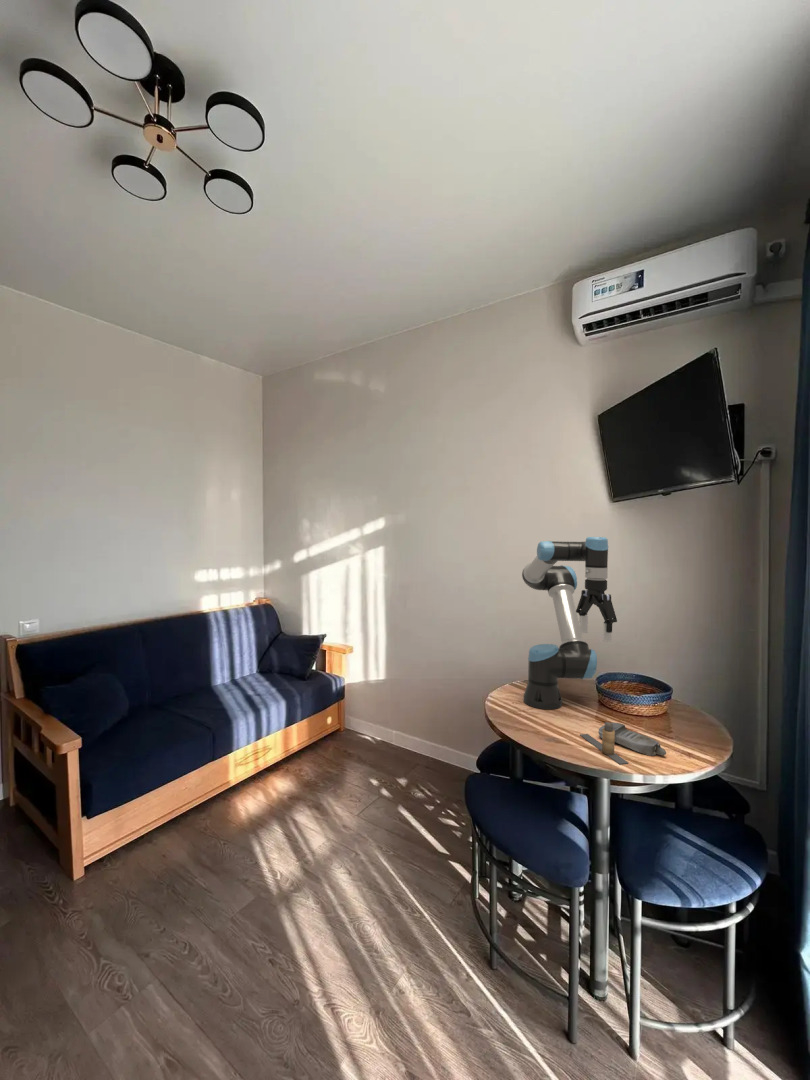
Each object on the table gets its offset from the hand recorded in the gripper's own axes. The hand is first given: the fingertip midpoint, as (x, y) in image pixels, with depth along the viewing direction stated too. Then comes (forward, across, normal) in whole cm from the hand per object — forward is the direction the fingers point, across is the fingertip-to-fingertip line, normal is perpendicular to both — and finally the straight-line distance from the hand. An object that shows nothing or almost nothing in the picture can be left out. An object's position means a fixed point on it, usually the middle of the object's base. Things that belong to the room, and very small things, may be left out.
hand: (594, 637), depth 163 cm
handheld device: (+32, +18, +2) cm, 37 cm away
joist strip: (+32, +18, -10) cm, 38 cm away
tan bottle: (+31, +21, -10) cm, 39 cm away
